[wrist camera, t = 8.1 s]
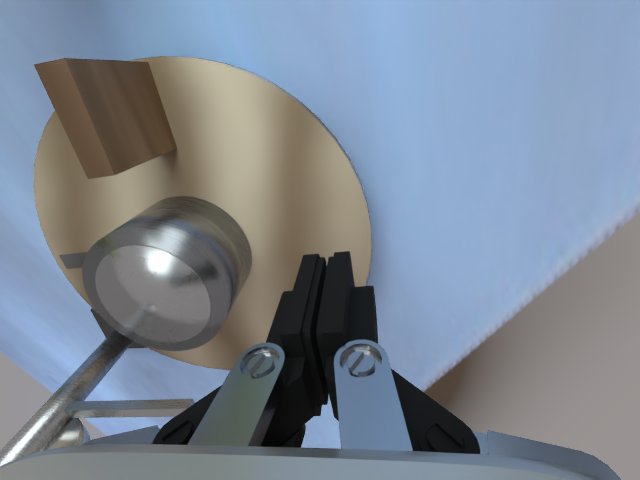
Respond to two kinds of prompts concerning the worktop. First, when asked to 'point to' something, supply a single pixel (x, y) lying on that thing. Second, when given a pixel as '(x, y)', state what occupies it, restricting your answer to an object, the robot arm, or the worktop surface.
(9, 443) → the knob-topped metal post
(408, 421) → the robot arm
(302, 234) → the turntable
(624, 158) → the worktop surface
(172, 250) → the cover
